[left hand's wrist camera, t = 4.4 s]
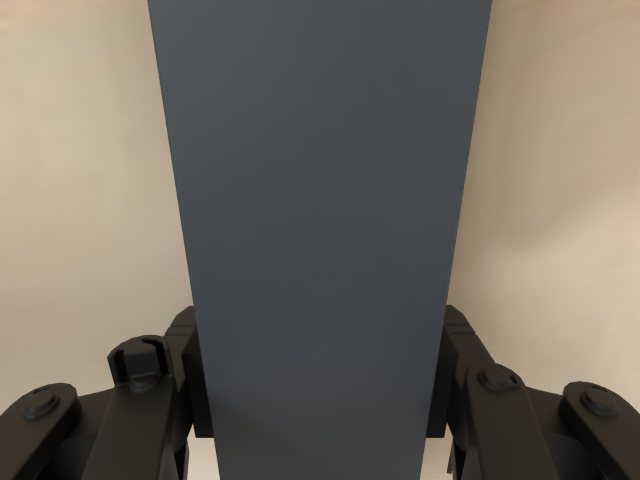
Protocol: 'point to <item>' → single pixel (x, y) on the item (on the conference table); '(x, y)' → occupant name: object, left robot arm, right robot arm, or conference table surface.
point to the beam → (319, 218)
